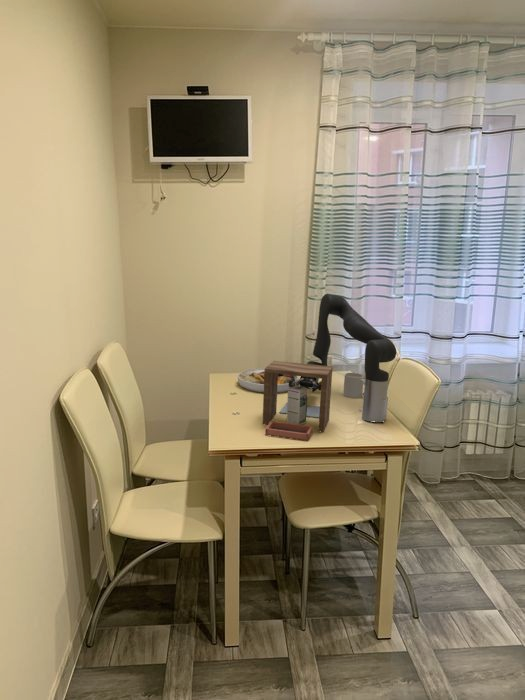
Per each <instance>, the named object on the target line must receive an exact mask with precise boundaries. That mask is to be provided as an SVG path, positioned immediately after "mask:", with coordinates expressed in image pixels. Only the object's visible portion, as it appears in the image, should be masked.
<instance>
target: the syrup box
mask: <svg viewBox="0 0 525 700" xmlns="http://www.w3.org/2000/svg"><path fill="white" fill-rule="evenodd" d="M308 390H309V389H308V388H306V387H303V386H300V385H299V386H297V385H296V386H294V387H291V388H288V391H287V402H286V403H287V415H286V423H291V424H299V425H304V424H305V422H306V423H307V417H306V416H307V405H308Z"/></svg>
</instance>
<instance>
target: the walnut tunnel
mask: <svg viewBox="0 0 525 700" xmlns="http://www.w3.org/2000/svg"><path fill="white" fill-rule="evenodd" d="M333 368H334V367H333V366H330V365H327V366H322V365H311V364H307V363H301V362H291V361H279V360H273V361H271V362H270V363H269V364H268V365H267V366H266V367H264V369H265V371H264V393H263V402H262V404H263V405H262V424H265V425H264V426H268V425H269V424H270V423H269V422H271V421H273V419H274V417H275V416H276V415H277V406H278V405H277V403H278V400H277V399H278V393H277V383H278V374H284V375H294V376H298V377H301V376H303V377H313V378H320V379H321V380H320V381H321V391H320V397H319V399H320V401H319V406H320V413H319V419H318V430H317V431H321V432H320V433H323V432H325V430H326V428H327V426H328V424H329V422H330V412H331V397H332V396H331V395H332V380H333V379H332V378H333ZM328 421H329V422H328Z"/></svg>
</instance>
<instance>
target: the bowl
mask: <svg viewBox="0 0 525 700" xmlns="http://www.w3.org/2000/svg"><path fill="white" fill-rule="evenodd" d="M264 371H265V368H255V369H247V370H243V371H241V372H239V373H238V374H237V382H238V384H239V385H240V386H241V387H242V388H244V389H245V390H248V391H252V392H255V393H262V394H264ZM291 378H295V380H298V379H300V376H294V375H284V374H278V383H277V394H279V393H285V392H288V388H291V387H289V380H290V379H291ZM295 385H296V383H295Z"/></svg>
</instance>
